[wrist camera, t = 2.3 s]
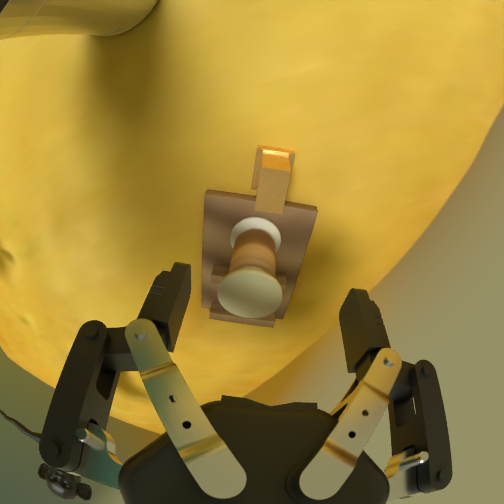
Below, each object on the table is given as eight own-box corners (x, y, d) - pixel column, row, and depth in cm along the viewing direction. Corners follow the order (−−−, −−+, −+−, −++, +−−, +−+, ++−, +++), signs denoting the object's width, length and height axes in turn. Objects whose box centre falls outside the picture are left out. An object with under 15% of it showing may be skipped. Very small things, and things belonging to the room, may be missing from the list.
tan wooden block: (257, 145, 25) (254, 163, 21) (293, 150, 25) (299, 171, 21) (251, 184, 28) (247, 211, 23) (285, 189, 28) (288, 217, 23)
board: (207, 189, 29) (179, 245, 20) (316, 206, 29) (332, 268, 21) (203, 301, 40) (188, 361, 31) (282, 313, 40) (283, 374, 32)
